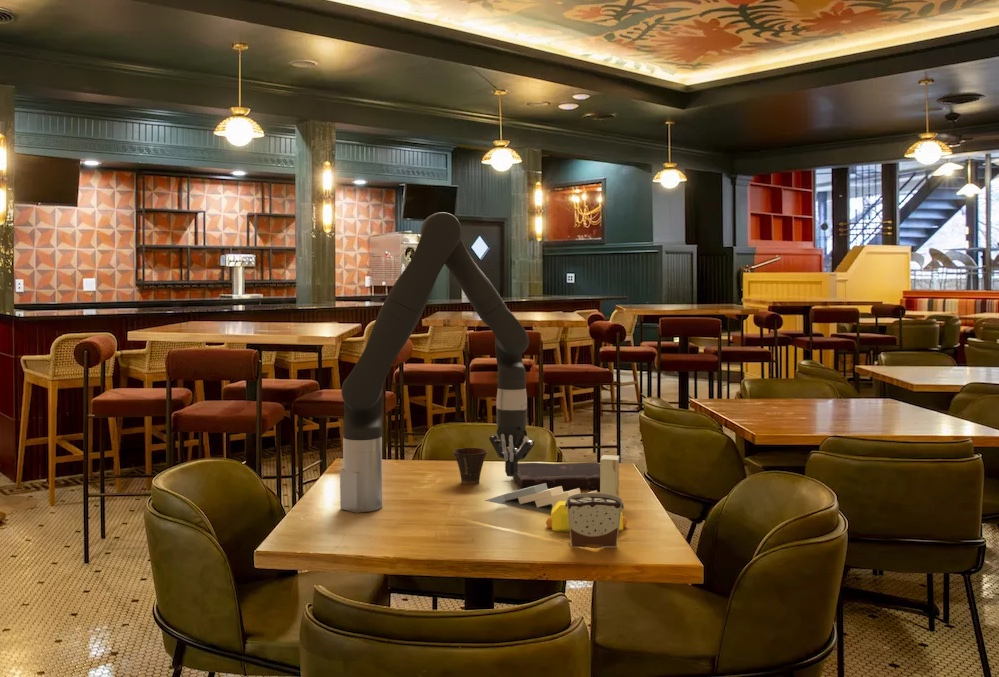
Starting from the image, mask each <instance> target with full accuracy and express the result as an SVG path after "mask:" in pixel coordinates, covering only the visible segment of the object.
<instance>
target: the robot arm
mask: <svg viewBox="0 0 999 677" xmlns="http://www.w3.org/2000/svg"><path fill="white" fill-rule="evenodd" d="M462 230H463V229H462V225H461V223H460V221H459V220H458V218H457V217H456V216H455V215H453V214H451V213H449V212H444V211H442V212H435V213H433V214H431V215H429V216H427V217H426V219H425V220H423V222H422V224H421V228H420V234H421V235H420V238H419V240H418V243H417V246H416V248H415V251H414V253H413V255H412V256H411V257H412V258H411V260H410V261H409V262H408V265H407V266H406V267H405V268H404V270H403V271H402V272H401V274H400V275H399V276H398V278H397V280H396V281H395V282H394V284H393V286H392V287H391V289H390V291H389V292H388V294H387V295H386V297H385V300H384V302H383V304H382V305H381V308H380V310H379V311H378V315H377V317H376V319H375V321H374V324H373V327H372V329H371V331H370V334H369V337H368V340H367V342H366V346H365V347H364V350H363V352H362V353H361V355H360V357H359V359H358V360H357V362H356V363H355V365H354V367H353V368H352V370H351V371H350V373H349V374H348V376H347V377H346V378H345V379H344V380H343V383H342V385H341V398H342V400H343V425H342V444H343V445H342V446H343V447H342V453H343V454H342V456H343V457H342V462H343V463H342V466H343V469H340V470H339V482H340V483H339V485H340V486H339V487H340V488H339V490H340V491H339V492H340V493H339V496H340V498H339V499H340V502H339V503H340V506H339V507H340V510H344V511H348V512H352V513H355V514H359V513H366V512H373V511H379V510H380V509H382V508H383V387H384V384H385V382H386V379H387V376H388V374H389V372H390V369H391V368H392V365H393V363H394V361H395V360H396V358H397V357H398V355H399V354H400V352H401V351H402V350H403V348H404V346H405V345H406V344H407V342H408V341H409V338H410V337H411V335H412V334H413V332H414V330H415V329H416V327H417V325H418V322H419V320H420V318H421V316H422V314H423V313H424V310H425V308H426V305H427V304H428V302H429V298H430V297H431V294H432V292H433V290H434V287H435V284H436V281H437V279H438V277H439V274H440V272H441V271H442V269H443V268H444V266H445V267H447V269H448V270H449V271H450V273H451V275H452V276H453V277H454V279H455V280H456V282H457V284H458V286H460V288H461V290H462V292H463V293H464V295H465V297H466V298H467V300H468V302H469V303H470V305H471V306H472V308H473V309H474V311H475V312H476V314H477V315H478V317H479V319H480V320H481V321H482V322H483V323H484V325H485V326H487V327H489V329H490V330H491V331H492V333H493V334H494V336H495V338H494V348H495V358H496V359H495V360H496V364H497V392H496V425H497V429H496V433H495V434H493V436H489V438H488V439H489V442H490V443H491V445H492V447H493V450H494V451H495V453H496V454H497V456H498V457H499V458H501V459H503V460H504V462H505V463H504V466H505V467H504V468H505V469H504V471H505V474H506V476H507V477H512V478H513V476H516V474H517V472H518V463H519V461H521V460H524V459H525V458H526V457H527V456H528V454H529V453H530V451H531V450H532V448H534V446H535V441H534V440H533V439H530V438H529V437H528V432H527V430H526V427H527V424H528V393H527V371H526V368H525V366H524V363H523V354H524V353H525V352H526V351H527V349H528V347H529V344H530V339H529V334H528V332H527V331H526V329H525V327H524V326H523V325H522V324H521V322H520V321H519V320H518V319H517V318H516V316H515V315H514V314H513V313H512V311H511V310H510V309H509V308H508V306H507V305H506V303H505V301H504V300H503V298H502V297H501V295H500V294H499V292H498V290H497V289H496V287H495V285H493V283H492V282H491V280H490V279H489V278H488V277H487V275H486V274H485V273H484V272H483V271H482V270H481V268H480V267H479V266H478V265H477V263H476V262H475V261H474V259H473V257H472V256H471V254H470V252H468V250H467V248H466V246H465V244H464V242H463V240H462V233H463V232H462Z"/></svg>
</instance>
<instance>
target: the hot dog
mask: <svg viewBox="0 0 999 677" xmlns="http://www.w3.org/2000/svg"><path fill="white" fill-rule="evenodd" d="M565 503H566V501H558V502H557V503H556V505H555V506H554V507H553V508H552V511H551V514H550V516H549V517H547V518H546V522H545V525H546V527H547V528H548V529H550V530H552V531H553V532H560V533H561V532H565V533H566V532H570V528H569V518H568V508H567V507H566V509H565V510H564V508H565ZM627 524H628V521H627V518H626V517H625V516H623V512H622V511H621V515H620V524H619V532H621V531H623V530H624V528H626V527H627Z"/></svg>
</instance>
